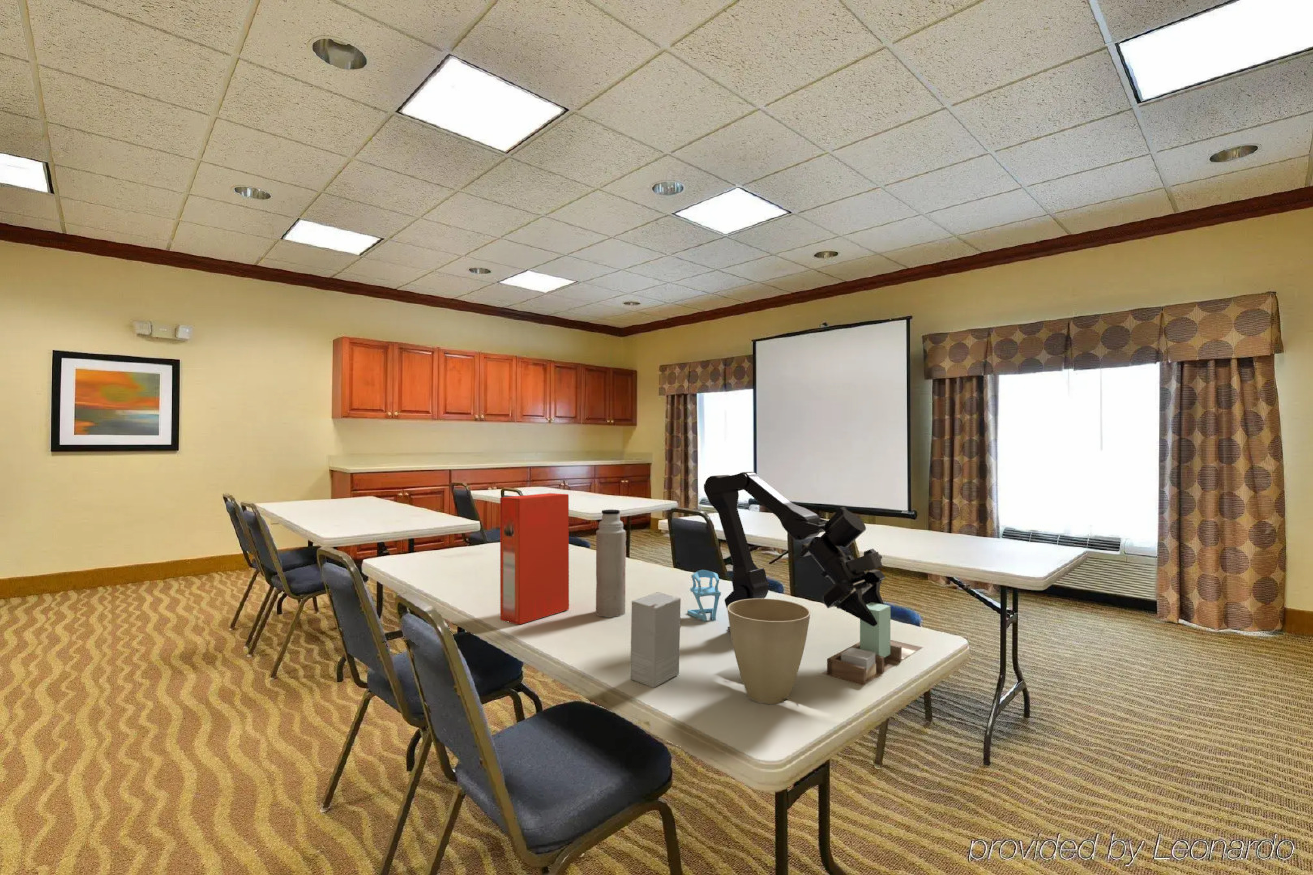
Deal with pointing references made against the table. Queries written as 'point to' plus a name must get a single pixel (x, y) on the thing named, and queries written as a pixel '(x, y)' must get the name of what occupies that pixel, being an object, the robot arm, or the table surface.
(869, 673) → the birch offcut slab
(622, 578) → the thermos bottle
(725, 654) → the table surface
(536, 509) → the file binder
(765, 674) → the plant pot
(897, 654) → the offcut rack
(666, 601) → the skincare box
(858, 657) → the grey offcut slab
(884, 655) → the mint green block
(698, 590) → the chair
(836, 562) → the robot arm
